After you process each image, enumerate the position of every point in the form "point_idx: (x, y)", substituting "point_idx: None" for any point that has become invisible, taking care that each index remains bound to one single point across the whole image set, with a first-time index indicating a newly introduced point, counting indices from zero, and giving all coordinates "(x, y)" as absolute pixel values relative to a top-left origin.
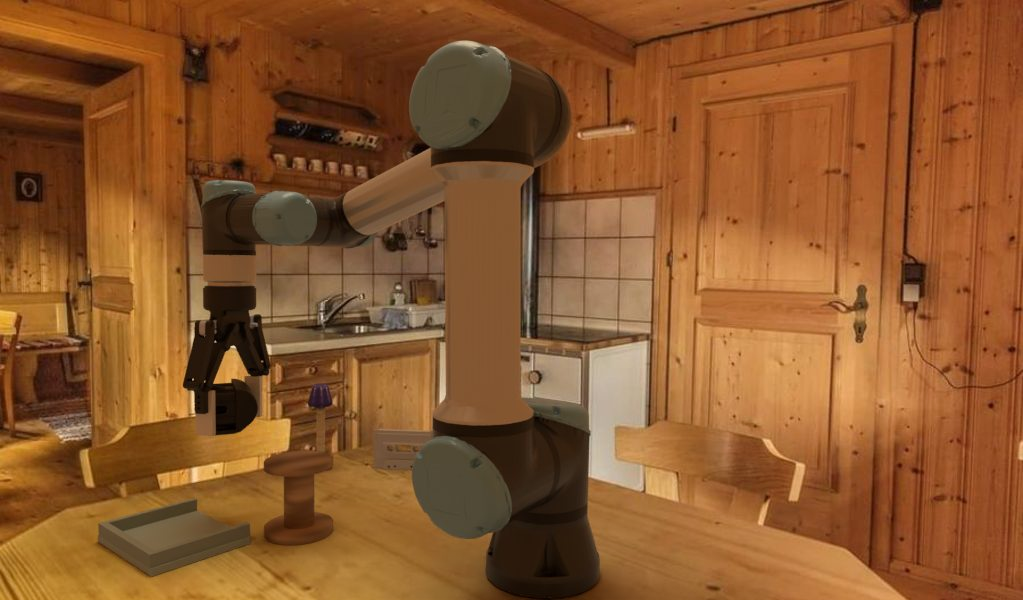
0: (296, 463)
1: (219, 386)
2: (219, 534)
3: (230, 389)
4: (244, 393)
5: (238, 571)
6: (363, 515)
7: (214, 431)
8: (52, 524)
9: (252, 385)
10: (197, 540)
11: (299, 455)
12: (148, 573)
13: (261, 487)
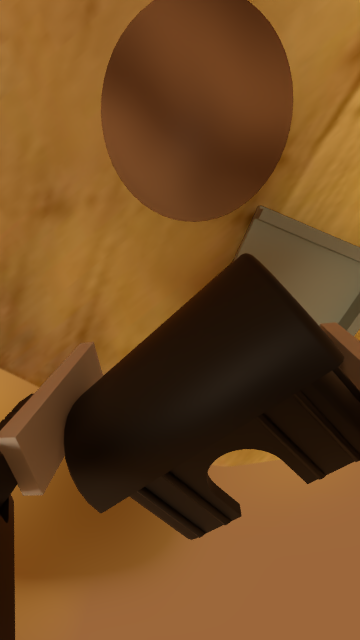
0: (229, 100)
1: (198, 489)
2: (310, 228)
3: (263, 417)
4: (309, 316)
5: (356, 151)
6: (91, 85)
7: (330, 328)
8: (262, 456)
9: (51, 433)
10: (341, 242)
11: (157, 149)
12: None
13: (71, 335)
